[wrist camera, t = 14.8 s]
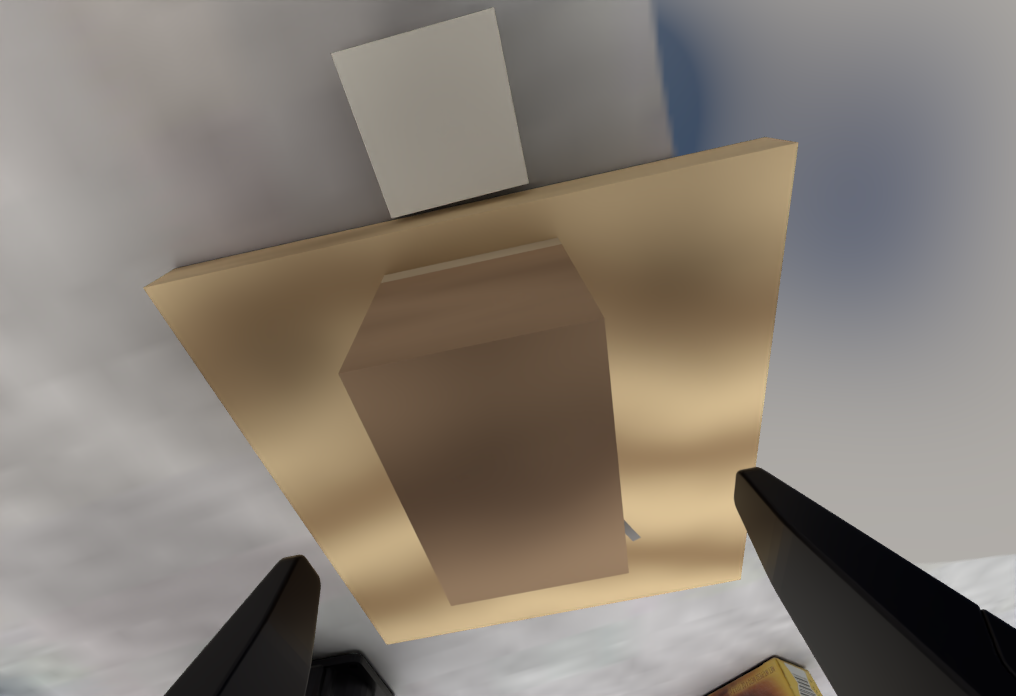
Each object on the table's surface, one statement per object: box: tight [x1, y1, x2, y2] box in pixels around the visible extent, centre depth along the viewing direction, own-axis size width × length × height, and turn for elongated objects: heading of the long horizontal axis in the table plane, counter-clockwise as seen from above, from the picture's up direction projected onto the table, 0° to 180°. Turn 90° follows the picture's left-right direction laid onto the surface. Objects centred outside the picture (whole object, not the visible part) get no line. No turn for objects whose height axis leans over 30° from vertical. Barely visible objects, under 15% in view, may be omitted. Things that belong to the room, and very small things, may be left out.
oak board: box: [144, 137, 798, 645], centre depth 18 cm, size 20×18×2 cm
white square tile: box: [331, 7, 529, 219], centre depth 12 cm, size 4×4×1 cm
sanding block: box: [338, 238, 629, 606], centre depth 12 cm, size 8×5×5 cm, turn 11°
